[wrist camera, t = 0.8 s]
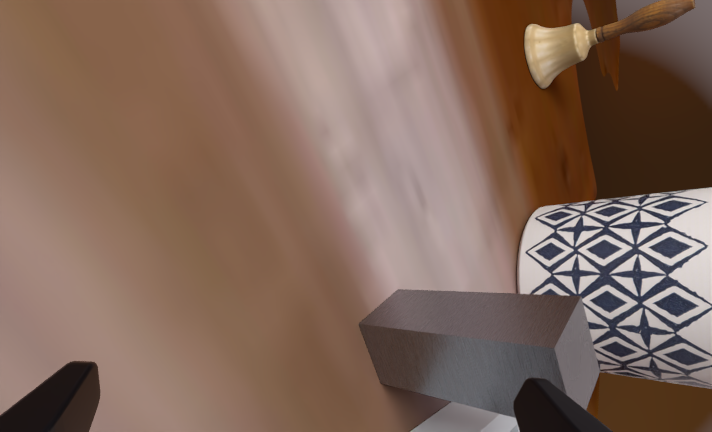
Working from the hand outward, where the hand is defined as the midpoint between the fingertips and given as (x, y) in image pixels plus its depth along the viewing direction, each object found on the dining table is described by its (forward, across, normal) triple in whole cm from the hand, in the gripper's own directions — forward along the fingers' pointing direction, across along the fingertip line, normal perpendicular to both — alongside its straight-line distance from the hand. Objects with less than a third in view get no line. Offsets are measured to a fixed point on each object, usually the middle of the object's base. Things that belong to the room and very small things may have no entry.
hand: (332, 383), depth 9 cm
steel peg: (+14, -8, +12) cm, 20 cm away
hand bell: (+47, -30, -6) cm, 56 cm away
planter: (+30, -31, +17) cm, 46 cm away
